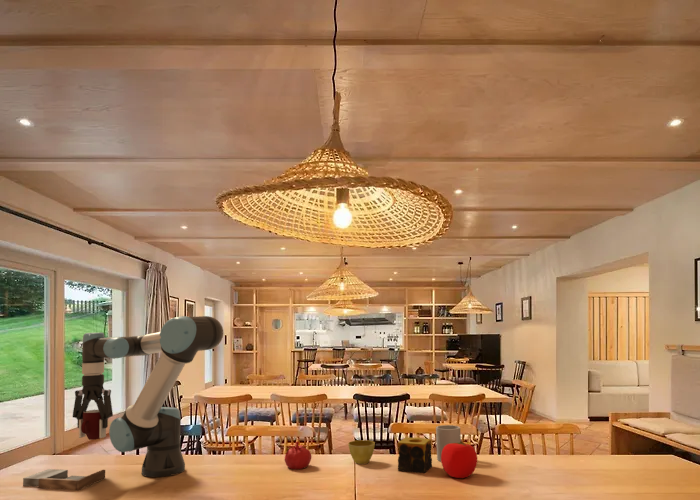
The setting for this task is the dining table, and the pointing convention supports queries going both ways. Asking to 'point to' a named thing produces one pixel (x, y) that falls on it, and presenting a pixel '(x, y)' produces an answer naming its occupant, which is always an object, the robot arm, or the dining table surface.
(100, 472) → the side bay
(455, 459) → the tomato
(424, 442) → the candle
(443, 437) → the cup
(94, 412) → the mug
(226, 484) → the dining table surface
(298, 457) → the pomegranate
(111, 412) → the robot arm
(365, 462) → the flower pot
